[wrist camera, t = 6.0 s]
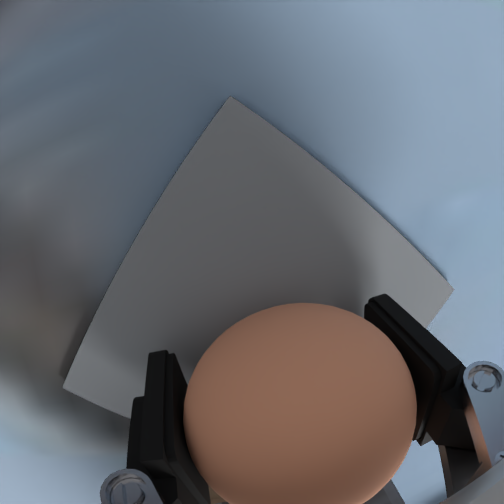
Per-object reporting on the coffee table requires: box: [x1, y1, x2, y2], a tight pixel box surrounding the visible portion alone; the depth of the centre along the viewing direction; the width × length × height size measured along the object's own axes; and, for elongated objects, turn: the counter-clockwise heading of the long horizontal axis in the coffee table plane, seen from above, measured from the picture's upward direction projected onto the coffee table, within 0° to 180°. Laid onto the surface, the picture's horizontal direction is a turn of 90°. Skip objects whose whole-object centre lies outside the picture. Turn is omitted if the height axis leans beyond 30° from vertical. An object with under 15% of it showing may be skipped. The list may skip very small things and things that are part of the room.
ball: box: [183, 303, 417, 504], centre depth 8 cm, size 6×6×6 cm
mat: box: [63, 96, 454, 419], centre depth 11 cm, size 11×11×1 cm
